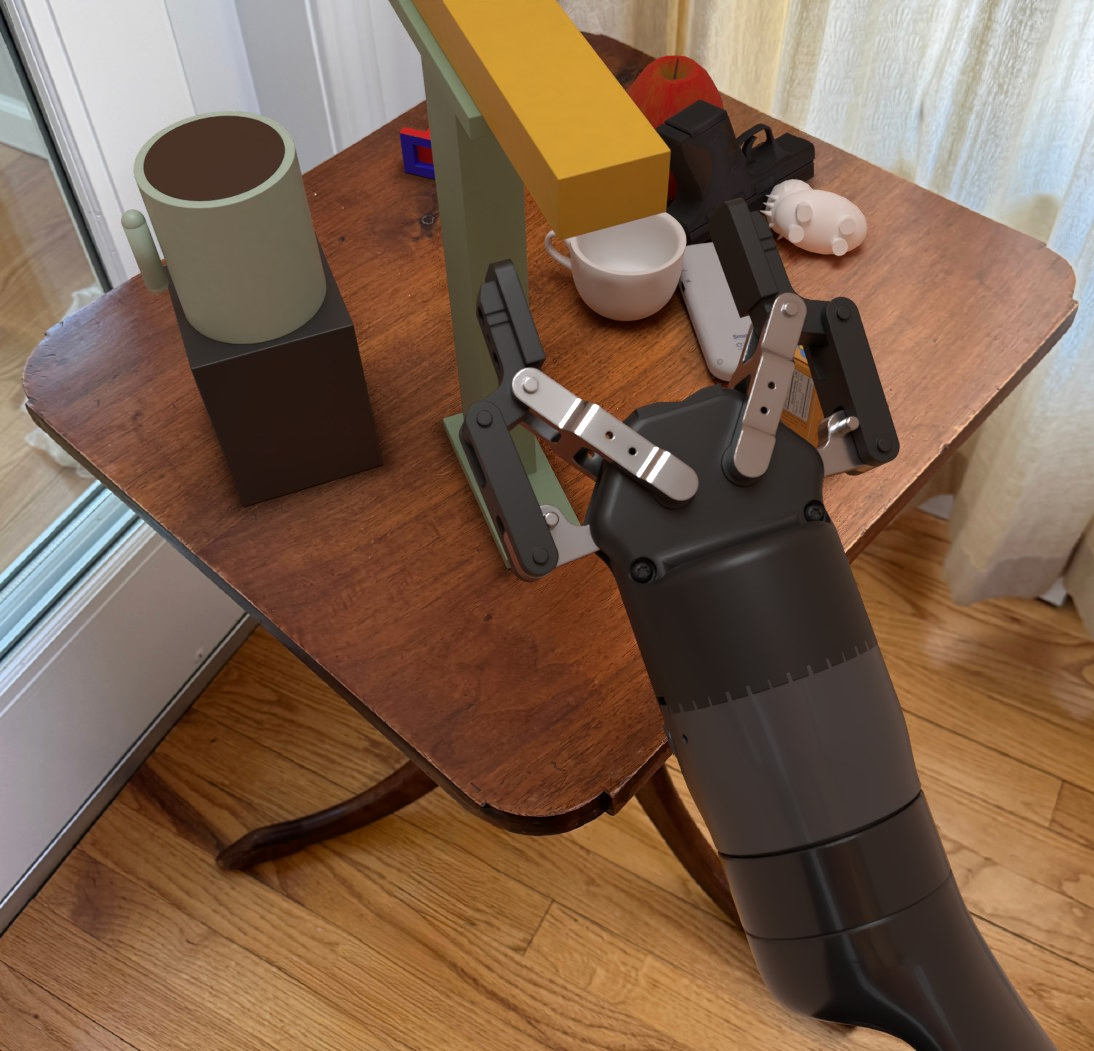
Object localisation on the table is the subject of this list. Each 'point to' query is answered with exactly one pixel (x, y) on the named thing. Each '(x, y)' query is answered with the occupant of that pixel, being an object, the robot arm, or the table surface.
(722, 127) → the handgun
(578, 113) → the rectangular block
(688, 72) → the apple
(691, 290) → the grey smart device
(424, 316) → the table surface
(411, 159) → the toy building block
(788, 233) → the toy creature
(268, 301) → the hollow cylinder with base
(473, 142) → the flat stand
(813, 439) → the supplement box
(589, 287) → the teacup
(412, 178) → the table surface
